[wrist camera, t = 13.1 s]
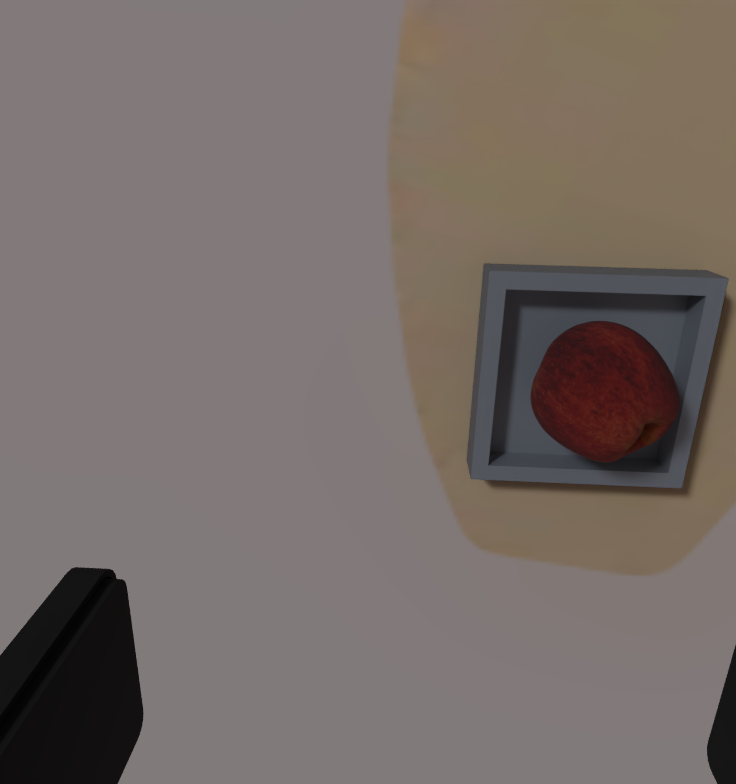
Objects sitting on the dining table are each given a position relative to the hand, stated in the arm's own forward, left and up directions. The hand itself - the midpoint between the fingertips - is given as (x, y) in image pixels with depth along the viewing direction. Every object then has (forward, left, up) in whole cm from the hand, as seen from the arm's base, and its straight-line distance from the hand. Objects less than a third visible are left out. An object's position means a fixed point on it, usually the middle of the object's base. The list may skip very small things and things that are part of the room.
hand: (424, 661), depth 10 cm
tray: (+5, +11, -30) cm, 33 cm away
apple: (+5, +11, -30) cm, 32 cm away
